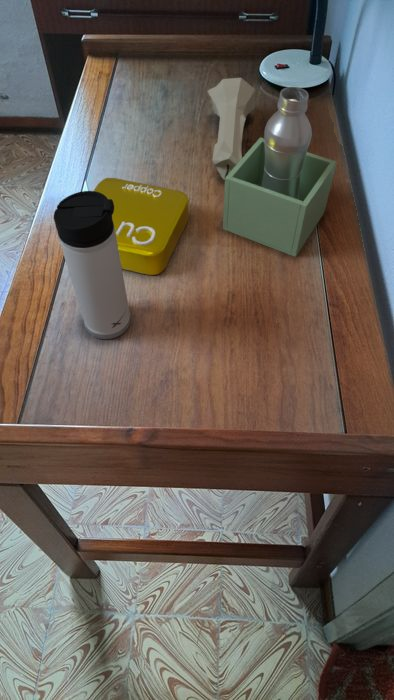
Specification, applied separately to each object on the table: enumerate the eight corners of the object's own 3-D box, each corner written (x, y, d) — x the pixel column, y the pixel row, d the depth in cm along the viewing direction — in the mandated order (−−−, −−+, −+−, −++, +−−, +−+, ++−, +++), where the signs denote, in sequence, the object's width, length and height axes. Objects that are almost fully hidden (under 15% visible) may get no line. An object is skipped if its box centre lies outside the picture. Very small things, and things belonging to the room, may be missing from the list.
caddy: (324, 213, 83) (337, 161, 75) (295, 257, 77) (306, 206, 69) (254, 188, 86) (260, 137, 78) (222, 229, 81) (224, 177, 73)
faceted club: (260, 106, 99) (257, 192, 86) (218, 115, 102) (208, 201, 88) (251, 61, 92) (246, 148, 79) (206, 72, 95) (194, 158, 81)
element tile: (192, 214, 83) (191, 189, 79) (160, 279, 74) (158, 255, 70) (107, 196, 85) (102, 171, 81) (67, 257, 77) (60, 233, 73)
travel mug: (131, 339, 68) (110, 224, 52) (82, 340, 68) (46, 225, 52) (134, 304, 72) (115, 185, 55) (87, 304, 72) (54, 186, 55)
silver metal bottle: (276, 237, 78) (297, 114, 62) (246, 215, 81) (257, 92, 65) (304, 219, 81) (331, 95, 64) (274, 198, 84) (292, 75, 67)
